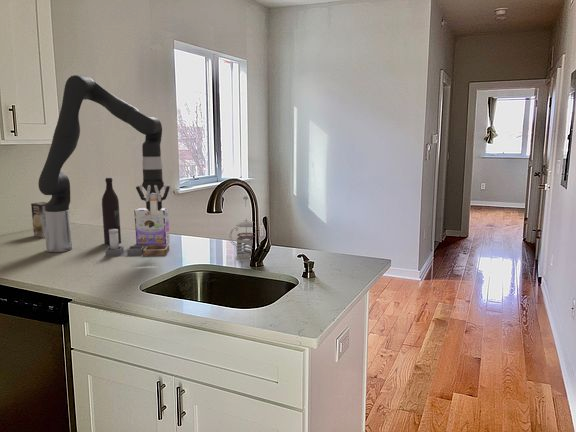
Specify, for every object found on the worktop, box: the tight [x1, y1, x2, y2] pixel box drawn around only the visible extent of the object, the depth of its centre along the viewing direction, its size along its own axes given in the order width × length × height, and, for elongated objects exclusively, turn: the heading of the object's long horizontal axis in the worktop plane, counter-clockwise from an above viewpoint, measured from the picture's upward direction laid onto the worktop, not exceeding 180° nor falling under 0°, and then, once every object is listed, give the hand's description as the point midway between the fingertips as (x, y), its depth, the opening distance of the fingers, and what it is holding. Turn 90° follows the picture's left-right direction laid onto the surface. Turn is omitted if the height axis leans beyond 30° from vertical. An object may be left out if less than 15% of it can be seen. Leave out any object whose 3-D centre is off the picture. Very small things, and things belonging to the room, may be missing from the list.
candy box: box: [133, 207, 171, 245], centre depth 221 cm, size 14×6×16 cm, turn 84°
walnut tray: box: [142, 244, 170, 257], centre depth 204 cm, size 9×9×3 cm
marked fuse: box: [149, 193, 159, 219], centre depth 201 cm, size 4×4×10 cm
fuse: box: [109, 229, 120, 250], centre depth 201 cm, size 4×4×10 cm
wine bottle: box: [101, 177, 122, 246], centre depth 220 cm, size 7×7×30 cm
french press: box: [229, 195, 254, 262], centre depth 196 cm, size 10×12×25 cm
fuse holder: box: [104, 245, 146, 258], centre depth 202 cm, size 14×9×3 cm, turn 96°
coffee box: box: [30, 201, 47, 239], centre depth 241 cm, size 9×6×16 cm
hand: (154, 210), depth 201 cm, fingers closed on marked fuse, 3 cm apart
